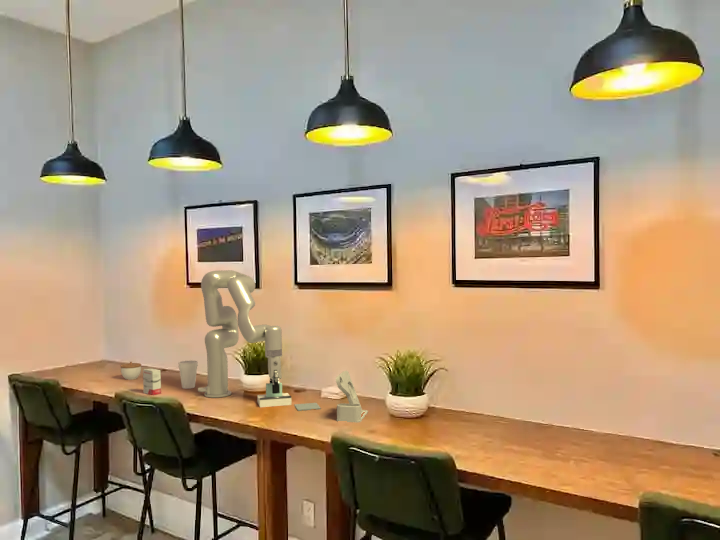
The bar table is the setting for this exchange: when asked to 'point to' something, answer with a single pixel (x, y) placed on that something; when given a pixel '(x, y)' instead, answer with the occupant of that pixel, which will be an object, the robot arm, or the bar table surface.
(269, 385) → the ticket
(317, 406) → the mat
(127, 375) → the lidded jar
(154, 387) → the ink box
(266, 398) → the box
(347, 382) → the phone holder
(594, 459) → the bar table surface
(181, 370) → the foam cup
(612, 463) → the bar table surface
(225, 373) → the robot arm
